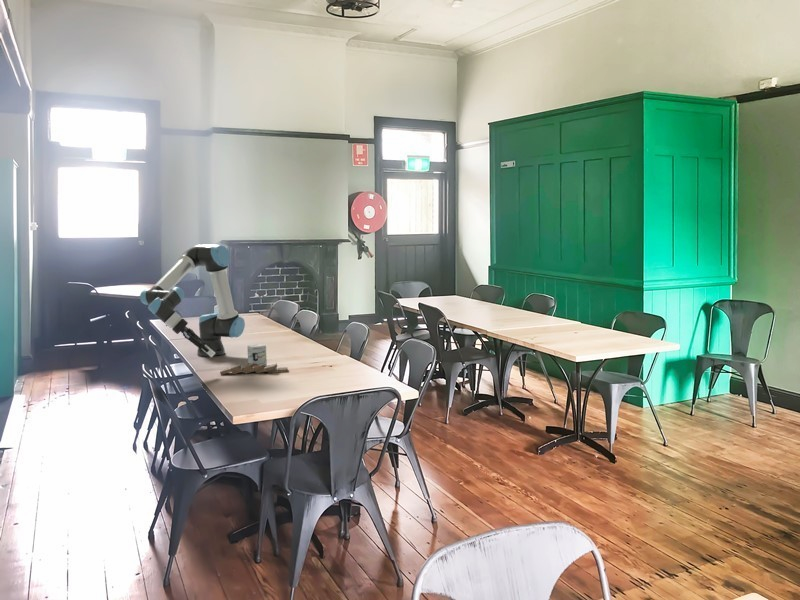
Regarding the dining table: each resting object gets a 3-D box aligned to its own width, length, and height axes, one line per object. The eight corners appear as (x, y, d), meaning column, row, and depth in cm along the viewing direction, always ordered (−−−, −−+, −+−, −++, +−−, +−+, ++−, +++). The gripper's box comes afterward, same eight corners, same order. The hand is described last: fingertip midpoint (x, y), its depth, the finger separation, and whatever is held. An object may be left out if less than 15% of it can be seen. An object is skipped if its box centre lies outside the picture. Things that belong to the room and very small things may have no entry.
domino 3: (257, 367, 345) (276, 363, 344) (258, 371, 345) (277, 366, 345) (255, 370, 340) (274, 365, 339) (256, 373, 341) (275, 369, 340)
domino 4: (267, 368, 346) (287, 367, 348) (267, 371, 347) (287, 370, 348) (267, 370, 341) (287, 369, 343) (267, 373, 342) (287, 372, 343)
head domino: (220, 369, 343) (240, 363, 344) (222, 373, 343) (241, 366, 344) (219, 372, 338) (239, 365, 339) (221, 375, 338) (240, 368, 339)
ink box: (251, 369, 350) (250, 347, 348) (247, 368, 353) (246, 345, 352) (267, 367, 355) (266, 345, 353) (263, 365, 359) (262, 343, 357)
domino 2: (244, 368, 345) (263, 362, 345) (245, 371, 345) (264, 365, 345) (243, 370, 340) (262, 364, 340) (244, 374, 340) (263, 368, 341)
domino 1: (232, 369, 344) (251, 363, 345) (233, 372, 344) (252, 366, 345) (231, 371, 339) (251, 365, 340) (232, 374, 339) (252, 368, 340)
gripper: (173, 326, 340) (209, 358, 345) (169, 331, 327) (206, 363, 332) (184, 315, 340) (219, 347, 345) (180, 319, 327) (217, 352, 332)
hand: (213, 355), depth 339 cm, fingers closed
